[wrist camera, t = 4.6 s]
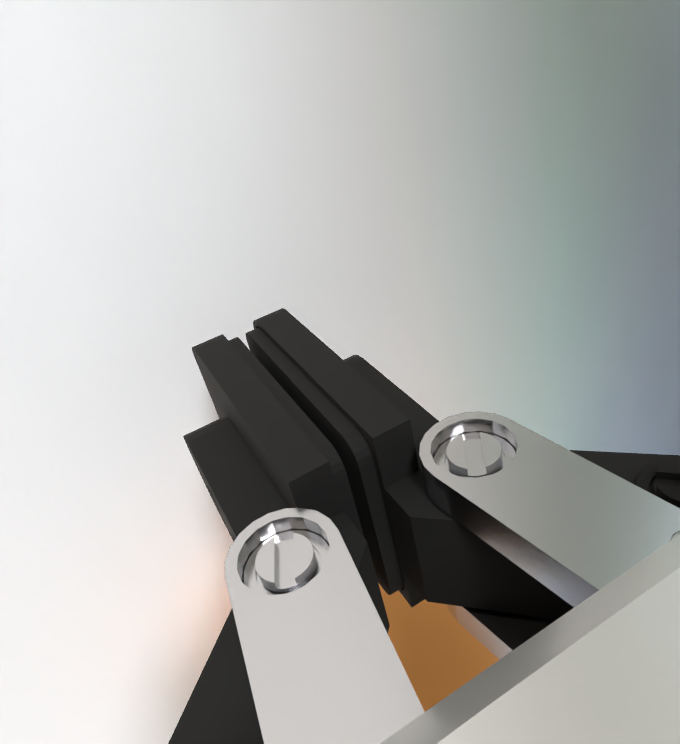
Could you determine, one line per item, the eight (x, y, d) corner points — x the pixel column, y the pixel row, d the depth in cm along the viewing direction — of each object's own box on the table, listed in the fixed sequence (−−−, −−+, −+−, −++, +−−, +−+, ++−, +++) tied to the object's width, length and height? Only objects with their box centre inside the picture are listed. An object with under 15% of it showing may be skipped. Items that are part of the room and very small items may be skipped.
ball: (330, 939, 13) (229, 685, 17) (550, 772, 15) (410, 578, 19) (278, 880, 9) (164, 569, 13) (586, 661, 11) (399, 448, 15)
